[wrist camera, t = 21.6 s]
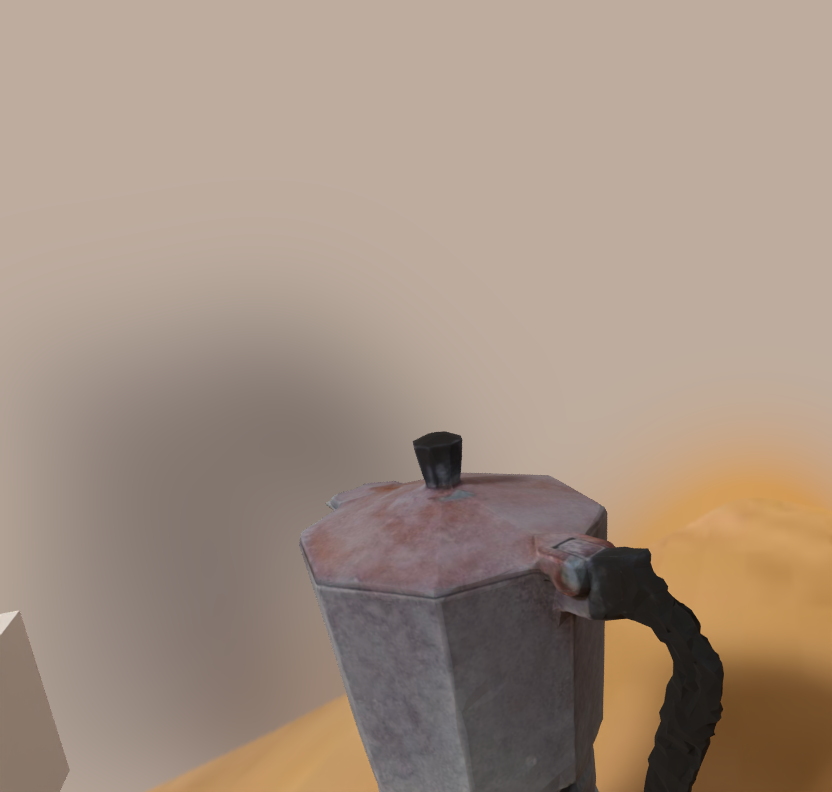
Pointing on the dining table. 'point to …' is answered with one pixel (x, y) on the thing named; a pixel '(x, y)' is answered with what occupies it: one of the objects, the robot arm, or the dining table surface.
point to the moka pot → (495, 631)
